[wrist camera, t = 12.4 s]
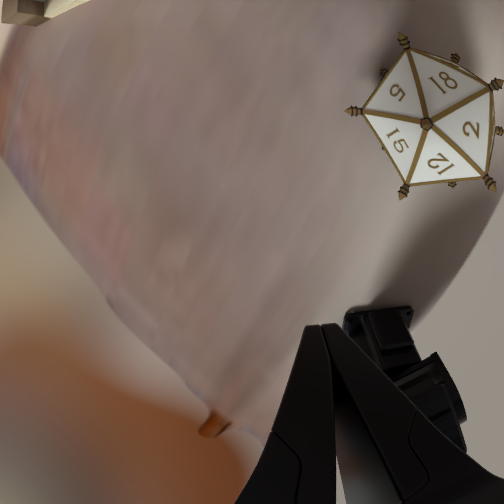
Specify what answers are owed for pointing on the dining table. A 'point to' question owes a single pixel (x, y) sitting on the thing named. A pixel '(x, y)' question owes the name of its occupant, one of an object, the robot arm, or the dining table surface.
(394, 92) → the game die
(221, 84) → the dining table surface
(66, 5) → the rail
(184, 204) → the dining table surface
